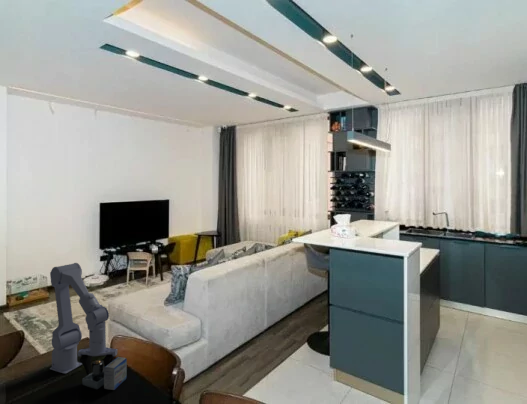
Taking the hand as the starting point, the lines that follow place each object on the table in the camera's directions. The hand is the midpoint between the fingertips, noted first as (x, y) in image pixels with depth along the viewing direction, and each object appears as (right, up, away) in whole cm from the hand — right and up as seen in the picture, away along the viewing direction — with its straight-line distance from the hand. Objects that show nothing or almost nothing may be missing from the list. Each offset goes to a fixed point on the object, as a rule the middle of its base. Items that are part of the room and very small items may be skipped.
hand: (98, 373), depth 127 cm
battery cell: (0, -3, 0) cm, 3 cm away
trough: (0, -3, 0) cm, 3 cm away
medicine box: (+8, -4, -1) cm, 8 cm away
